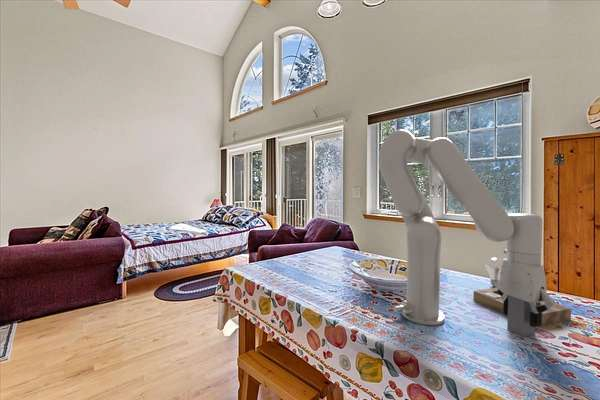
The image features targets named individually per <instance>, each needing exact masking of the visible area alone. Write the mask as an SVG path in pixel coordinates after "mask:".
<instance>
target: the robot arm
mask: <svg viewBox="0 0 600 400" xmlns="http://www.w3.org/2000/svg"><path fill="white" fill-rule="evenodd" d="M408 162H409V163H414V164H419V165H423V166H424V165H425V166H429V167H431V168H432V169H433V170H434V172H435V173H436V175H437V176H438V178H439V179H440V181H442V183H443V185H444V186H445V188H446V190H447V191H448V192H449V194H451V196H452V197H453V198H454V199H456V200H457V201H458V202H459V203H460V205H462V207H463V208H464V209H465V210H466V211H467V213H468V215H469V216H470V217H471V218H472V220H473V221H474V227H475V229H476V230H477V232H478V233H480V234H481V236H483V237H485V238H486V239H487V240H490V241H492V242H495V243H499V242H500V243H501V242H505V241H506V249H504V250H503V254H504V255H506V258H503V259H502V260H503V263H502V267H501V271H500V279H499V281H497V282H496V283H494V285H495V287H494V288H497V290H498V292H499V294H500V295H501V299H502V300H503V301H504V303H503V309H504V312H503V313H504V314H503V313H502V314H503V315H505V316H507V315H508V295H510V296H512V297H515V298H517V299H520V300H523V301H525V302H528V303H530V306H531V308H532V311H533V312H530V326H531V327H535V328H538V327H540V325H541V323H542V312H545V311H547V310H549V309H550V308H552V307H554V306H555V305H556V302H555V300H553V299H552V297H551V296H550V295H549V294H548V293H547V280H546V273H545V268H544V265H542V243H543V242H542V241H543V218H542V217H541V216H540V215H538V214H534V213H527V212H526V213H524V212H523V213H522V212H519V213H518V212H517V213H508V212H506V210H505V209H504V207H503V206H502V204H501V203H500V202H499V201H498V199H497V198H496V197H495V196H494V195H493V193H492V192H491V191H490V190H489V189H488V187H487V186H486V185H485V183H484V182H483V181H482V180H481V178H480V177H479V176H478V175H477V174H476V172H475V171H474V169H473V168H472V167H471V165H470V164H469V163H468V161H467V160H466V159H465V156H463V154H462V153H461V152H460V150H459V148H458V147H457V146H456V145H455V144H454V142H453V141H452V140H450V139H449V138H447V137H436V138H434V139H432V140H431V139H426V138H421V137H420V138H419V137H415V136H414V134H412V133H411V132H410V131H408V130H406V129H396V130H394V131H392V132H391V133H390V134H389V135H388V136H387V137H386V138H385V139H384V140H383V142H382V144H381V146H380V149H379V153H378V166H379V167H378V168H379V171H380V173H381V175H382V178H383V180H384V183H385V186H386V188H387V190H388V192H389V195H390V197H391V199H392V202H393V204H394V205H393V206H394V207H395V209H396V210H397V212H398V213H400V216H401V217H402V220H403V222H404V223H405V226H406V228H407V231H406V247H407V248H406V251H407V252H406V253H407V254H406V267H407V268H406V299H405V300H403V303H402V304H401V305H394V306H392V307H393V311H394V313H401V315H402V316H403V317H404V319H407V320H408V321H410V322H412V323H416V324H419V325H424V326H425V325H426V326H437V325H441V324H442V323H444V322H445V314H444V313H443V312H442V311H441V310H440V290H441V289H440V286H441V285H440V284H441V283H440V282H441V281H440V280H441V277H440V275H441V250H442V249H441V247H442V232H441V228H440V226H439V224H438V222H437V220H436V218H435V217H434V214H433V213H432V210H431V208H430V206H429V204H428V202H427V200H426V198H425V195H424V193H423V192H422V191H421V189H420V188H419V186H418V185H417V183H416V180H415V178H414V176H413V174H412V171H411V170H410V167H409V165H408ZM541 301H545V304H544V305H542V302H541ZM536 305H537V306H536ZM541 326H542V325H541Z"/></svg>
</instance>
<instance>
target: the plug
mask: <svg viewBox="0 0 600 400" xmlns="http://www.w3.org/2000/svg"><path fill="white" fill-rule="evenodd" d="M530 312H533V311H532V308H531V306H530V303H528V302H525V301H523V300H520V299H517V298H515V297H512V296H510V295H508V316H507V321H506V322H507V323H506V324H507V326H506V329H507V330H508V331H509V332H512V333H513V334H516V335H518V336H519V337H521V338H526V337H531V336H535V335H536V327H531V326H530Z"/></svg>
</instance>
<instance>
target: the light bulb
mask: <svg viewBox="0 0 600 400" xmlns="http://www.w3.org/2000/svg"><path fill="white" fill-rule="evenodd" d="M503 260H504V259H501V258H499V257H491V258H489V259H487V260H486V262H485V269H486V271H487V272H488V275H489V278H490V284H491V286H493V288H496V287H495V285H494V283H496V282H497V281H499V279H500V271H501V267H502V263H503Z"/></svg>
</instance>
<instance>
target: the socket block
mask: <svg viewBox="0 0 600 400" xmlns="http://www.w3.org/2000/svg"><path fill="white" fill-rule="evenodd" d="M473 301H475V303H479V304H481V305H483V306H485V307H488V308H490V309H492V310H494V311H496V312H499V313H500V314H503V315H505V314H504V313H503V312H504V309H503V303H504V301H503V300H502V299H501V295H500V294H499V292H498V290H497V288H496V287H491V288H485V289H484V288H483V289H476V290H473ZM541 302H542V305H544V304H545V301H541ZM555 303H556V302H555ZM536 306H537V305H536ZM506 316H507V317H508V315H506ZM571 318H572V308H571V307H568V306H566V305H562V304H559V303H556V305H555V306H554V307H552V308H550V309H549V310H547V311H545V312H542V323H541V325H540V326H545V325H550V324H551V325H552V324H555V323H561V322H565V321H566V322H567V321H570V320H572V319H571ZM540 326H539V327H540Z"/></svg>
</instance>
